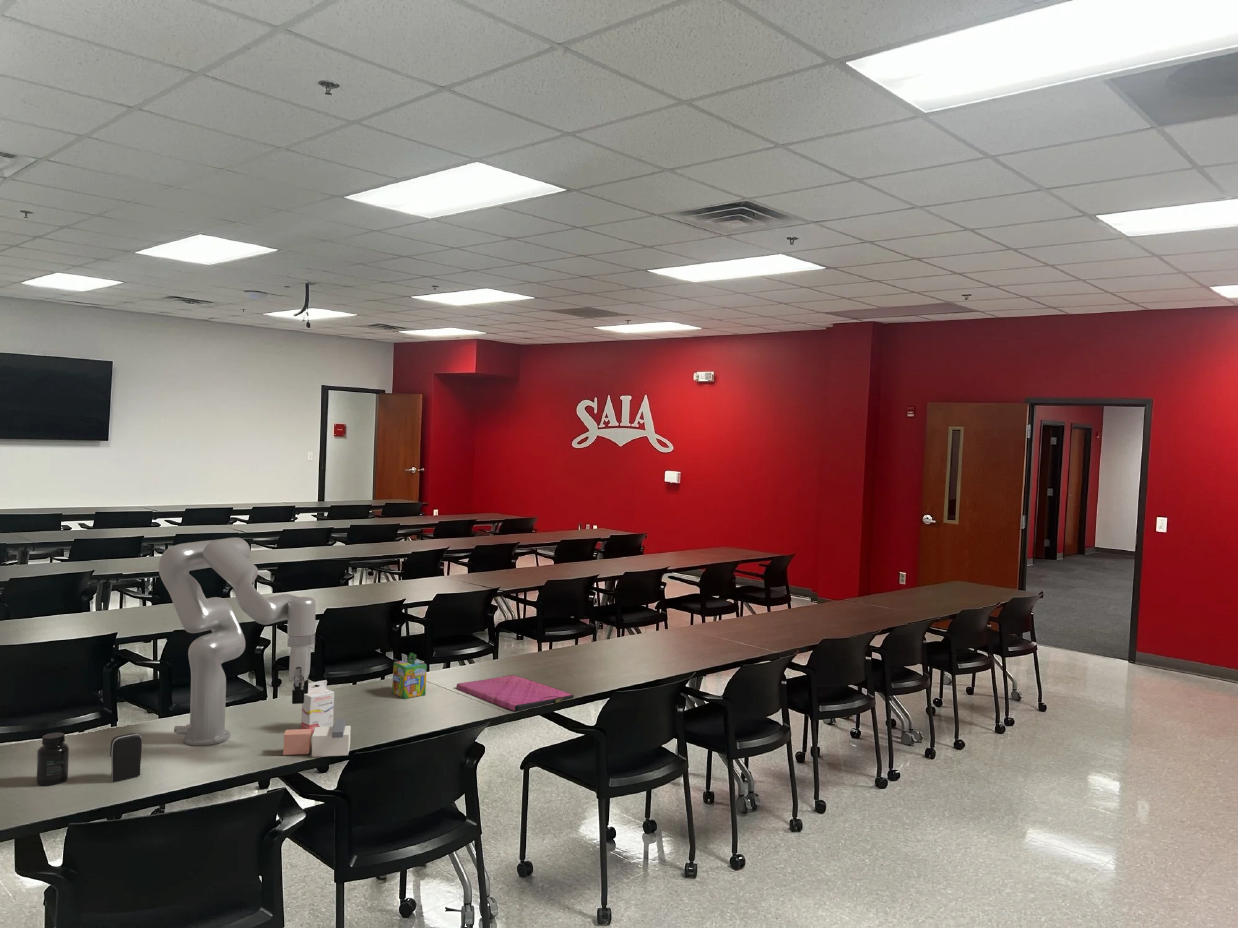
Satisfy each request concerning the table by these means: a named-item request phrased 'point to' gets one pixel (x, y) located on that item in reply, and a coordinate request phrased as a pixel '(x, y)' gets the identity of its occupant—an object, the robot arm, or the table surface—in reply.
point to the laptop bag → (514, 692)
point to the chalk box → (409, 678)
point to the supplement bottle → (52, 760)
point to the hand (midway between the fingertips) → (300, 698)
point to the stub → (297, 741)
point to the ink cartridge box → (317, 707)
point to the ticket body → (331, 740)
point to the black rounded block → (125, 756)
